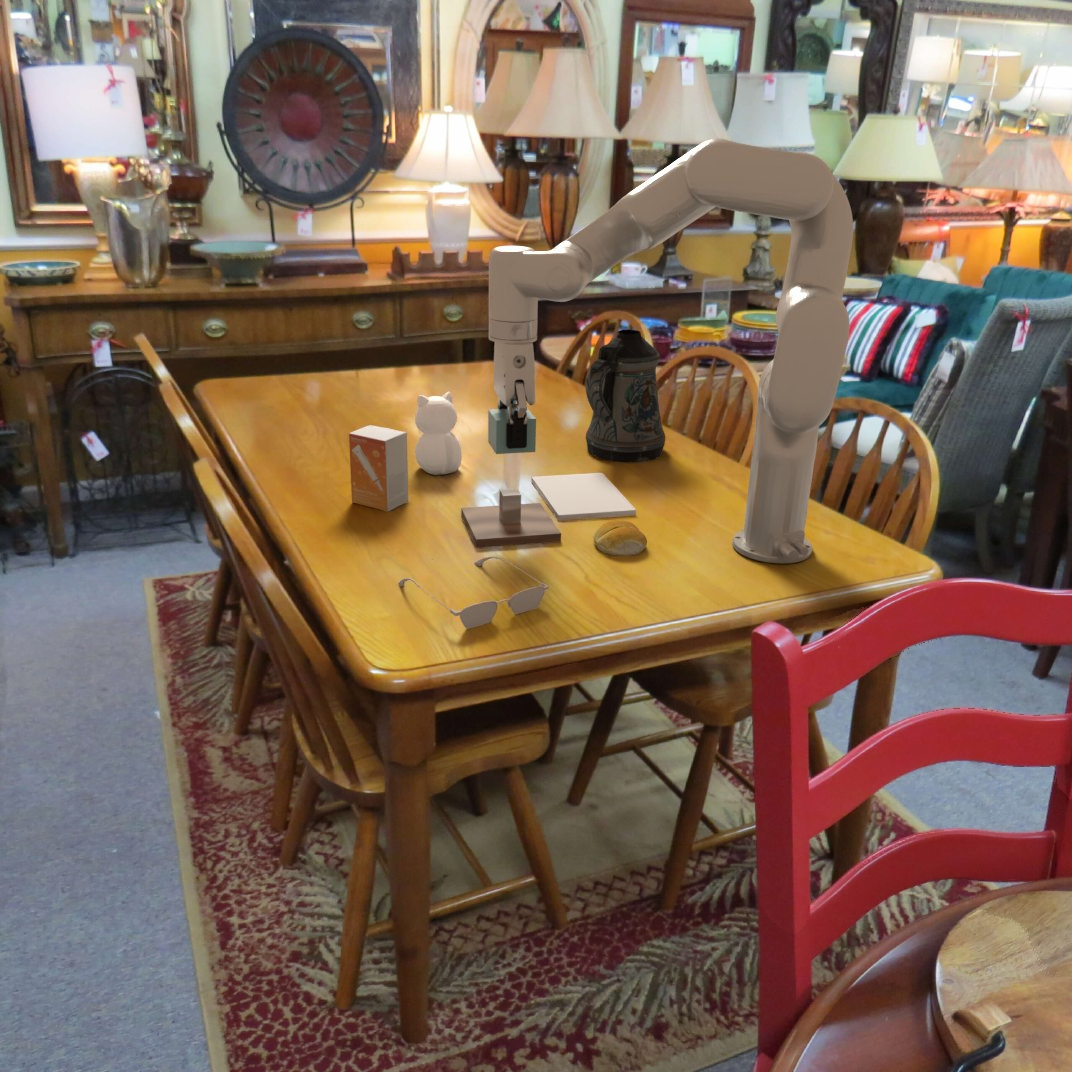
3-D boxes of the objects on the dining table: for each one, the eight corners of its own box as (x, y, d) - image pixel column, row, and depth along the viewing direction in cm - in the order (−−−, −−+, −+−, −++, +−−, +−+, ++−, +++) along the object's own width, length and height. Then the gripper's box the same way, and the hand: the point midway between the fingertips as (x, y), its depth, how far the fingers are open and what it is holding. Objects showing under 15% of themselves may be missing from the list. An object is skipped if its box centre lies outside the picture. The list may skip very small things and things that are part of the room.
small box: (351, 503, 173) (347, 432, 168) (373, 493, 179) (370, 423, 174) (387, 512, 170) (385, 440, 165) (409, 501, 175) (407, 431, 170)
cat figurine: (449, 459, 198) (447, 386, 192) (475, 477, 187) (474, 400, 182) (407, 465, 194) (404, 390, 188) (431, 484, 183) (429, 405, 178)
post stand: (560, 541, 160) (562, 504, 157) (476, 548, 157) (476, 510, 154) (540, 510, 172) (541, 475, 170) (461, 516, 169) (461, 480, 167)
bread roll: (633, 534, 164) (635, 511, 163) (651, 555, 156) (653, 532, 155) (586, 537, 162) (587, 514, 161) (602, 559, 154) (603, 535, 153)
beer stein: (669, 443, 211) (679, 327, 201) (654, 472, 193) (664, 345, 184) (594, 436, 215) (600, 321, 205) (573, 462, 197) (578, 338, 188)
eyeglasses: (456, 637, 131) (456, 610, 129) (392, 587, 144) (391, 562, 142) (549, 608, 139) (550, 583, 137) (480, 564, 152) (480, 540, 151)
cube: (535, 451, 157) (536, 418, 155) (496, 454, 155) (496, 420, 153) (526, 440, 162) (526, 407, 160) (488, 442, 161) (488, 409, 159)
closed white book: (635, 515, 171) (636, 509, 171) (558, 520, 168) (558, 515, 168) (601, 477, 189) (602, 472, 189) (531, 481, 186) (531, 476, 186)
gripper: (550, 340, 145) (547, 456, 152) (523, 318, 160) (522, 425, 167) (500, 342, 143) (499, 459, 150) (478, 320, 158) (478, 427, 165)
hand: (511, 440), depth 158 cm, fingers closed on cube, 6 cm apart
